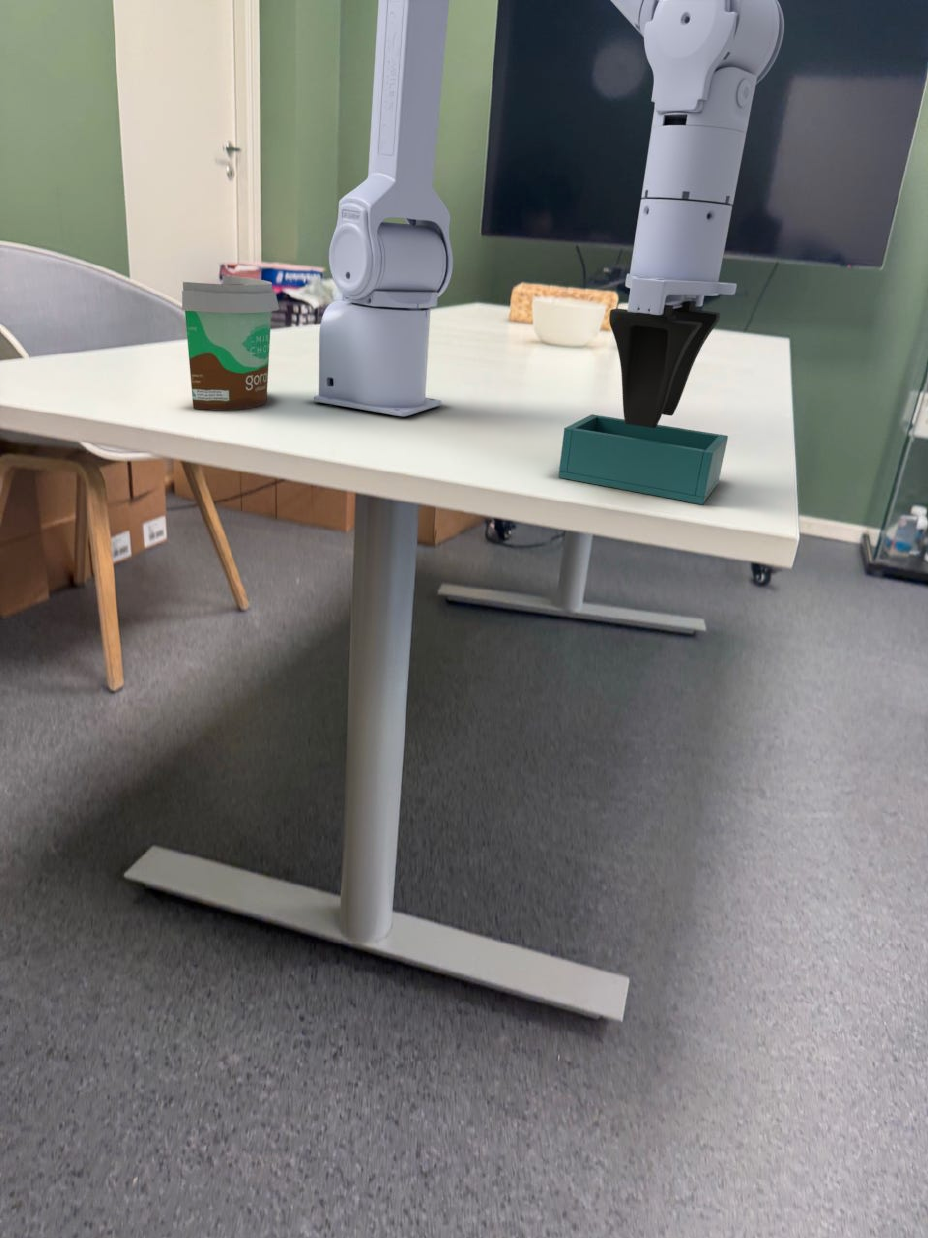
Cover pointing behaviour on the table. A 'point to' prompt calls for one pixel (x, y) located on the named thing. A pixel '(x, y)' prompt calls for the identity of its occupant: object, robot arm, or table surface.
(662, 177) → the robot arm
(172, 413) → the table surface
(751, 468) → the table surface
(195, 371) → the food container
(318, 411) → the table surface
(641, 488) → the open storage box
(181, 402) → the table surface
